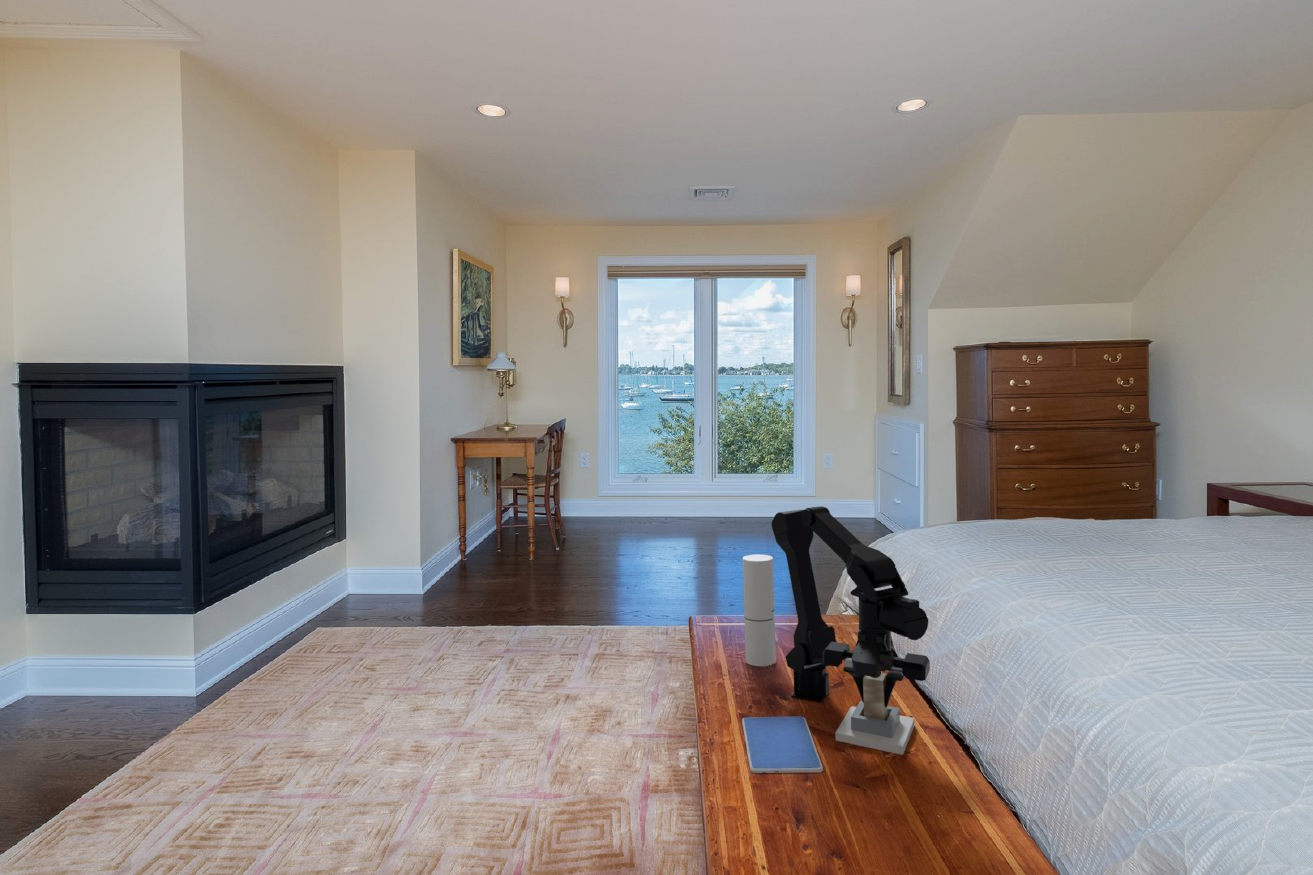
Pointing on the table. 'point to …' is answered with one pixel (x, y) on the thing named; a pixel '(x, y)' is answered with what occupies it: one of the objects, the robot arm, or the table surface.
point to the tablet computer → (780, 745)
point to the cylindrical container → (759, 610)
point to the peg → (875, 697)
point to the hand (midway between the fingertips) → (875, 704)
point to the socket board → (876, 730)
